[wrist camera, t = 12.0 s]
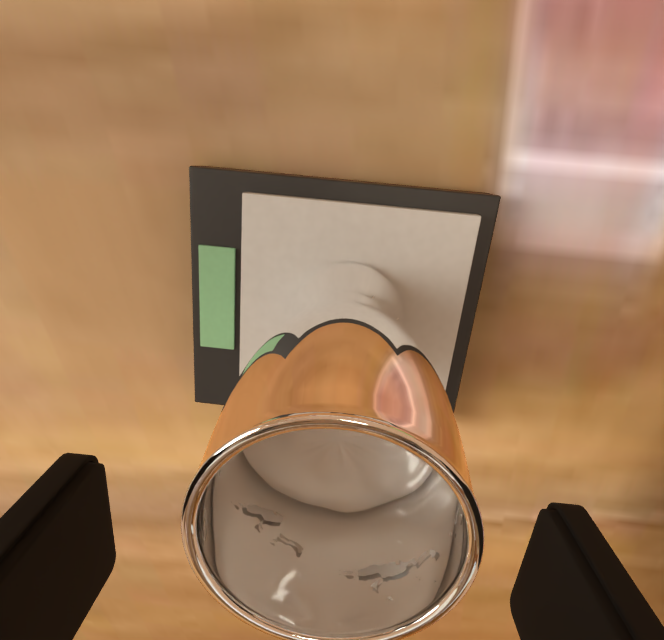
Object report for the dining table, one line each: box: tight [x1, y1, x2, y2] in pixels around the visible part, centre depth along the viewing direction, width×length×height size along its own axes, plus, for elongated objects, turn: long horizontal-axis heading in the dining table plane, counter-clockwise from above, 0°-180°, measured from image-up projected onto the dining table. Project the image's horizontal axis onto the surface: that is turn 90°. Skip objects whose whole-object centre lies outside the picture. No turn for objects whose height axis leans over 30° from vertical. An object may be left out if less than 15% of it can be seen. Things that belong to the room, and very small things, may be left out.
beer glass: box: [181, 262, 484, 640], centre depth 16 cm, size 7×7×15 cm
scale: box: [189, 166, 501, 413], centre depth 25 cm, size 16×14×3 cm
